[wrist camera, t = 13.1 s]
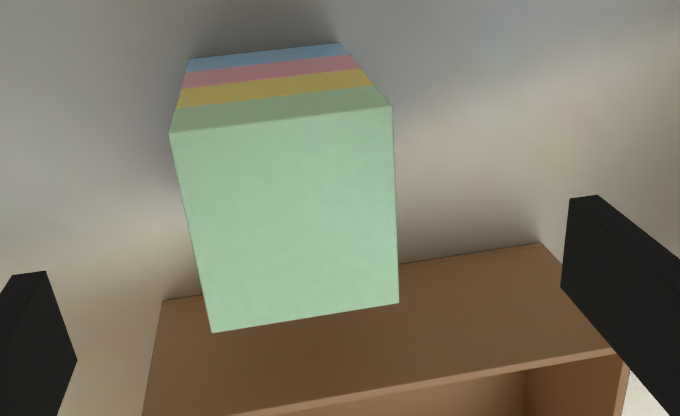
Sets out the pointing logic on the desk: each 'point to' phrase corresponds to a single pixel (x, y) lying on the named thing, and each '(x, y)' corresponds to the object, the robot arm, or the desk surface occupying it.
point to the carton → (401, 351)
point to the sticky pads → (287, 185)
